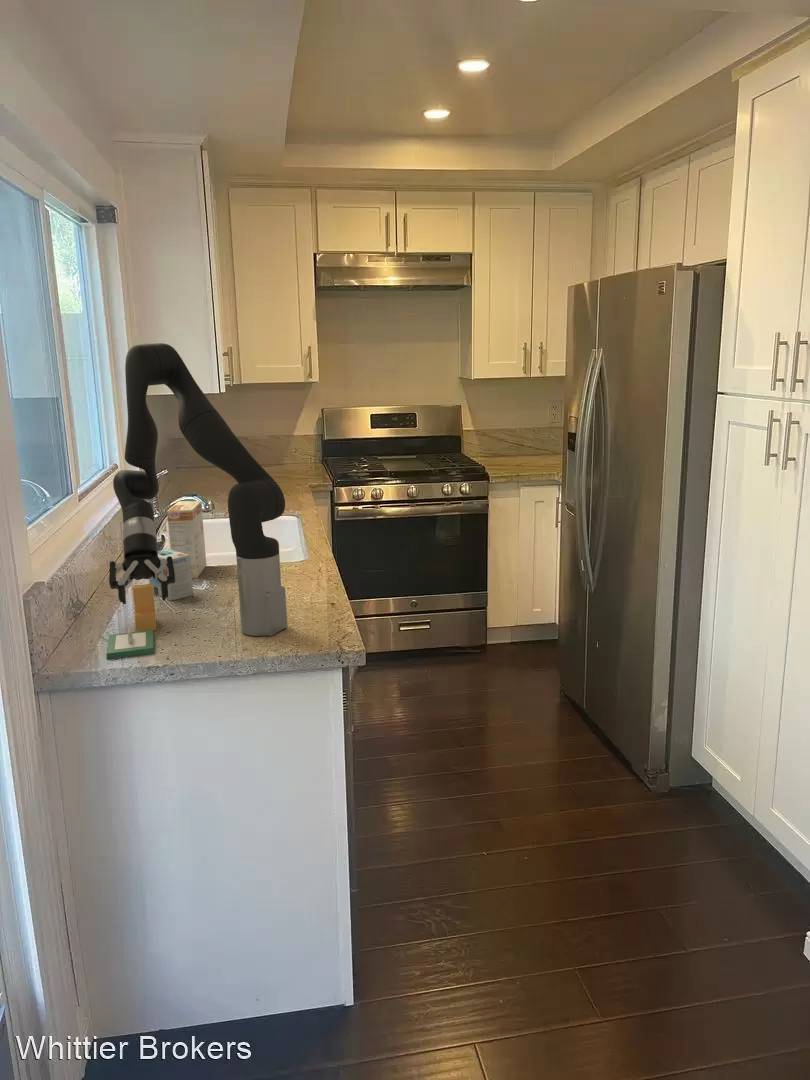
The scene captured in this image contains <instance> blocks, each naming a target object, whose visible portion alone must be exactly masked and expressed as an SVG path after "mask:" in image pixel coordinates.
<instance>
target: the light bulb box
mask: <svg viewBox="0 0 810 1080" xmlns="http://www.w3.org/2000/svg"><path fill="white" fill-rule="evenodd" d="M169 556H170V557H172V560H173V566H174V572H175V583H170V584H168V597H167V598H165V599H166V600H168V601H174V600H179V599H183V598H187V597H191V596H193V595H194V589H193V579H192V574H191V561H190V555H188V554H184V553H181V552H177V551H174V550H171V549H170V548H168V549H163V550H158V558H159V559H160V560H162V559H167V557H169ZM159 570H160V571H161V573H162V574H163V575H164V576H165V577H167V576H169V572H168V569H166V568H165V567H164V566H163V565H161V566H160V568H159ZM148 582H149V583H148V584H153V595H154V596H156V597H157V596H158V597H160V598H162V590H161V584H160V583H159V582H158V581H156V580H155V579H154V578H153V577H151V578H150V579H148Z"/></svg>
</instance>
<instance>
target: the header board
mask: <svg viewBox="0 0 810 1080" xmlns="http://www.w3.org/2000/svg"><path fill="white" fill-rule="evenodd" d="M154 635H155V634H154V631H153V630H145V631H133V627H132V626H127V631H126V632H119V633H111V634H109V635H108V640H107V647H106V659H107V660H112V659H118V658H119V659H120V658H126V657H127V658H128V657H129V658H130V657H137V656H142V655H152V654H155V651H154V649H155V648H154V645H155V643H154ZM111 658H112V659H111Z"/></svg>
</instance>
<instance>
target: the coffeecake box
mask: <svg viewBox="0 0 810 1080" xmlns="http://www.w3.org/2000/svg"><path fill="white" fill-rule="evenodd" d="M202 508H203V507H202V500H180V501H177V502H176V503H175V504H173V506H171V507H170V508H169V509H168V510H166V515H167V526H168V528H167V529H168V538H169V549H170V550H174V551H177V552H181V553H184V554H188V555H190V561H191V574H192V580H193V579H198V578H199V576H200V575H201V573H202V572H203V571H204V570H205V568H206V566H208V564H207V558H206V544H205V541H206V540H205V532H204V531H205V530H204V522H203V520H204V519H203V509H202Z"/></svg>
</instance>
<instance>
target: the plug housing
mask: <svg viewBox="0 0 810 1080" xmlns="http://www.w3.org/2000/svg"><path fill="white" fill-rule="evenodd" d="M132 596H133V604H134V605H133V606H134V619H135V629H136V631H145V630H153V632H154V630H155V631H157V617H156V616H157V615H156V606H155V605H156V604H155V594H153V584H149V583H148V584H146V583H145V584H138V585H132ZM136 631H135V632H136Z"/></svg>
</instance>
